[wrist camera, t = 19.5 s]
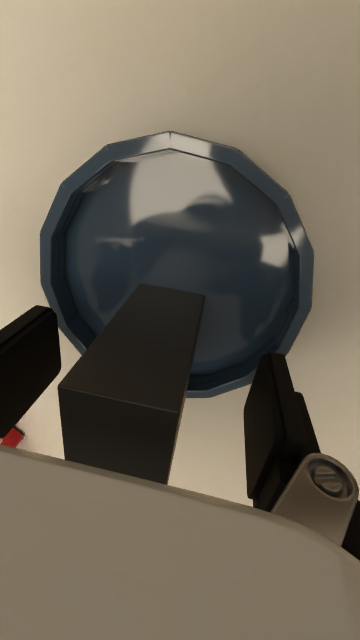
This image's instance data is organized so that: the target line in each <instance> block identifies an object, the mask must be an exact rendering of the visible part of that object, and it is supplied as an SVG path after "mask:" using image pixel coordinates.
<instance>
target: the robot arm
mask: <svg viewBox="0 0 360 640" xmlns="http://www.w3.org/2000/svg"><path fill="white" fill-rule="evenodd" d="M60 370H61V355H60V344H59V333H58V321H57V314H56V313H55V312H54V311H53V309H52V308H49V307H44V306H39V305H36V306H34V307H33V308H31V309H30V310H28V311H27V312H25V313H24V314H23V315H21V316H20V317H18V318H17V319H15V320H14V321H13V322H11V323H10V324H8V325H7V326H5V327H4V328H2V329H1V330H0V439H2V438H4V437H5V436H6V435H7V434H8V433H9V432H10V431H11V429H12V428H13V427H14V426H15V425H16V424H17V422H18V421H19V420H20V419H21V418H22V416H23V415H24V414H25V413H26V412H27V411H28V409H29V408H30V407H31V406H32V405H33V403H34V402H35V401H36V400H37V399H38V398H39V396H40V395H41V394H42V393H43V392H44V390H45V389H46V388H47V387H48V386H49V385H50V383H51V382H52V381H53V380H54V379H55V377H56V376H57V375H58V374H59V372H60ZM244 434H245V456H246V478H247V496H248V498H249V499H253V507H250V506H246V505H243V504H239V503H235V502H231V501H228V500H224V499H220V498H216V497H213V496H209V495H205V494H201V493H197V492H193V491H189V490H185V489H181V488H177V487H173V486H169V485H165V484H161V483H157V482H153V481H149V480H145V479H141V478H137V477H133V476H129V475H125V474H121V473H117V472H113V471H108V470H104V469H100V468H96V467H92V466H88V465H84V464H80V463H76V462H71V461H67V460H63V459H59V458H55V457H51V456H47V455H42V454H38V453H34V452H30V451H26V450H21V449H17V448H13V447H9V446H5V445H0V640H360V501H359V500H358V495H359V488H358V485H357V482H356V480H355V478H354V477H353V475H352V473H351V472H350V471H349V470H348V469H347V468H346V467H345V466H344V465H343V464H342V463H340V462H339V461H338V460H336V459H334V458H332V457H331V456H328V455H325V454H322V453H321V452H320V449H319V446H318V442H317V439H316V436H315V433H314V429H313V426H312V423H311V420H310V417H309V413H308V410H307V407H306V404H305V400H304V397H303V395H302V394H301V393H299V392H295V391H294V388H293V384H292V380H291V377H290V373H289V370H288V366H287V362H286V359H285V356H284V354H280V353H275V352H270V351H269V352H268V353H267V355H266V354H262V355H261V358H260V361H259V364H258V367H257V370H256V373H255V376H254V379H253V382H252V385H251V388H250V391H249V394H248V397H247V400H246V403H245V407H244Z"/></svg>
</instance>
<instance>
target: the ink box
mask: <svg viewBox="0 0 360 640" xmlns="http://www.w3.org/2000/svg"><path fill="white" fill-rule="evenodd" d="M22 439H23V436H22V435H21V434H20V433H19V432H18V431H17V430H16V429H15V428H12V429H11V431H10V432H9V433H8V434H7V435H6V436H5V437H4V438H2V439H0V445H5V446H9V447H13V448H16V446H17V445H18V444H19V443H20V441H21V440H22Z"/></svg>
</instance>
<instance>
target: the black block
mask: <svg viewBox="0 0 360 640" xmlns="http://www.w3.org/2000/svg"><path fill="white" fill-rule="evenodd" d="M204 300H205V296H204V295H200V294H194V293H189V292H184V291H178V290H173V289H168V288H162V287H157V286H152V285H146V284H139V285H138V287H137V288H136V289H135V290H134V292H133V293H132V294H131V295H130V297H129V298H128V299H127V300H126V301H125V303H124V304H123V305H122V306H121V308H120V309H119V310H118V311H117V313H116V314H115V315H114V316H113V318H112V319H111V320H110V321H109V323H108V324H107V325H106V326H105V328H104V329H103V330H102V331H101V333H100V334H99V335H98V336H97V337H96V339H95V340H94V341H93V342H92V344H91V345H90V346H89V347H88V349H87V350H86V351H85V352H84V354H83V355H82V356H81V357H80V359H79V360H78V361H77V362H76V364H75V365H74V366H73V367H72V369H71V370H70V371H69V372H68V373H67V375H66V376H65V377H64V378H63V380H62V381H61V382H60V383H59V385H58V396H59V406H60V416H61V426H62V436H63V446H64V456H65V460H67V461H71V462H76V463H80V464H84V465H88V466H92V467H96V468H100V469H104V470H108V471H113V472H117V473H121V474H125V475H129V476H133V477H137V478H141V479H145V480H149V481H153V482H157V483H161V484H165V485H167V484H168V480H169V475H170V470H171V465H172V460H173V455H174V451H175V446H176V441H177V436H178V431H179V426H180V421H181V417H182V412H183V407H184V402H185V397H186V392H187V388H188V383H189V378H190V373H191V368H192V363H193V358H194V353H195V347H196V342H197V337H198V332H199V327H200V321H201V316H202V311H203V306H204Z"/></svg>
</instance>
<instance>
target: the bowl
mask: <svg viewBox="0 0 360 640" xmlns="http://www.w3.org/2000/svg"><path fill="white" fill-rule="evenodd" d="M40 232H41V233H40V277H41V286H42V288H43V291H44V293H45V296H46V298H47V301H48V303H49V306H50V308H52V309H53V311H54V312H55V313H56V314H57V321H58V327H59V329H60V330H61V331H62V332H63V333H64V335H65V336H66V337H67V338H68V339H69V341H70V342H71V343H72V344H73V345H74V347H75V348H76V349H77V350H78V351H79V353H80V354H81V355H83V354H84V352H85V351H86V350H87V349H88V347H89V346H90V345H91V344H92V342H93V341H94V340H95V339H96V337H97V336H98V335H99V334H100V333H101V331H102V330H103V329H104V328H105V326H106V325H107V324H108V323H109V321H110V320H111V319H112V318H113V316H114V315H115V314H116V313H117V311H118V310H119V309H120V308H121V306H122V305H123V304H124V303H125V301H126V300H127V299H128V298H129V297H130V295H131V294H132V293H133V292H134V290H135V289H136V288H137V287H138V285H139V284H146V285H152V286H157V287H162V288H168V289H173V290H178V291H184V292H189V293H194V294H200V295H204V296H205V300H204V306H203V311H202V316H201V321H200V327H199V332H198V337H197V342H196V347H195V353H194V358H193V363H192V368H191V373H190V378H189V383H188V388H187V392H186V397H185V398H209V397H210V398H211V397H214V396H217V395H220V394H223V393H226V392H228V391H231V390H234V389H237V388H240V387H243V386H246V385H249V384H251V383H252V382H253V379H254V376H255V373H256V370H257V367H258V364H259V361H260V358H261V355H262V354H266V355H267V353H268V352H269V351H270V352H275V353H280V354H284V356H286V355H287V353H289V351H290V349H291V347H292V345H293V343H294V341H295V339H296V337H297V335H298V333H299V331H300V330H301V328H302V326H303V324H304V322H305V320H306V318H307V316H308V314H309V312H310V310H311V307H312V287H313V265H314V253H313V252H314V251H313V248H312V246H311V243H310V241H309V239H308V236H307V234H306V232H305V229H304V227H303V225H302V222H301V220H300V218H299V215H298V213H297V211H296V208H295V206H294V203H293V201H292V199H291V196H290V195H289V194H288V192H287V191H286V190H285V189H283V188H282V187H281V186H280V185H279V184H278V183H277V182H275V181H274V180H273V179H272V178H271V177H270V176H269V175H267V174H266V173H265V172H264V171H263V170H262V169H260V168H259V167H258V166H257V165H256V164H255V163H254V162H252V161H251V160H250V159H249V158H248V157H247V156H246V155H244V154H243V153H242V152H241V151H240V150H238V149H236V148H234V147H230V146H226V145H223V144H219V143H215V142H211V141H207V140H204V139H200V138H196V137H192V136H189V135H185V134H181V133H177V132H173V131H171V132H170V131H166V132H162V133H157V134H153V135H148V136H143V137H139V138H134V139H130V140H125V141H121V142H116V143H111V144H108V145H107V146H104V147H103V148H102V149H101V150H100V151H98V152H97V153H96V154H95V155H94V156H93V157H91V158H90V159H89V160H88V161H87V162H85V163H84V164H83V165H82V166H81V167H79V168H78V169H77V170H76V171H75V172H73V173H72V174H71V175H70V176H69V177H68V178H66V179H65V180H64V181H63V182H62V184H61V185H60V187H59V189H58V192H57V194H56V196H55V199H54V201H53V203H52V206H51V208H50V210H49V213H48V215H47V217H46V220H45V222H44V224H43V227H42V229H41V231H40Z"/></svg>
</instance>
